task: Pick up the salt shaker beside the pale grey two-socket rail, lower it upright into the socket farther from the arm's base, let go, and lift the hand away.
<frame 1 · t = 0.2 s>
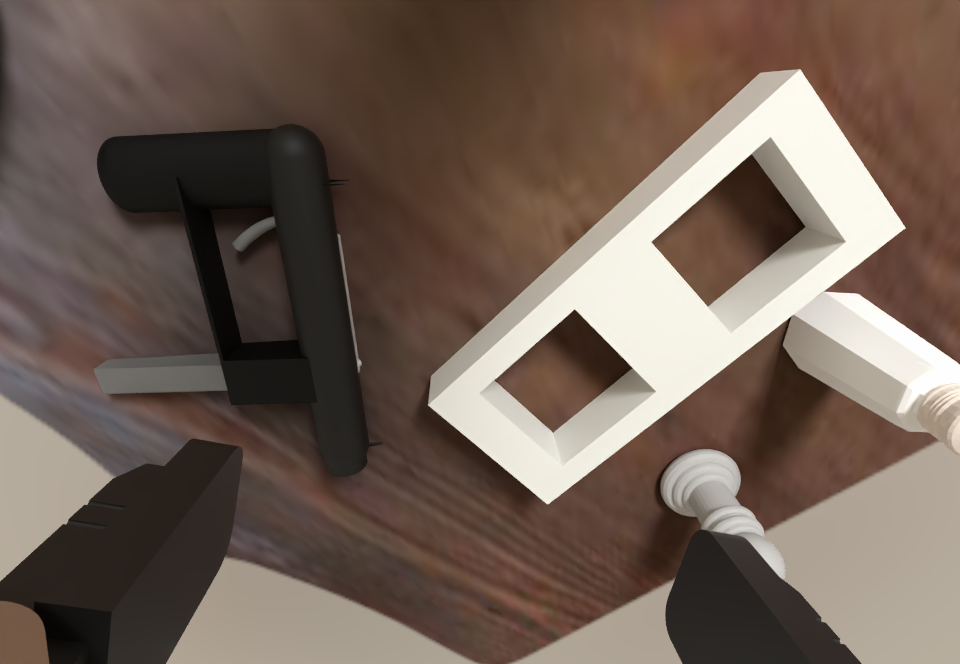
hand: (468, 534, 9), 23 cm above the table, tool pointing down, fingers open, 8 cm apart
salt shaker: (823, 329, 33), on the table
chess piece: (695, 476, 37), on the table
door handle: (236, 309, 32), on the table
socket rail: (634, 299, 32), on the table
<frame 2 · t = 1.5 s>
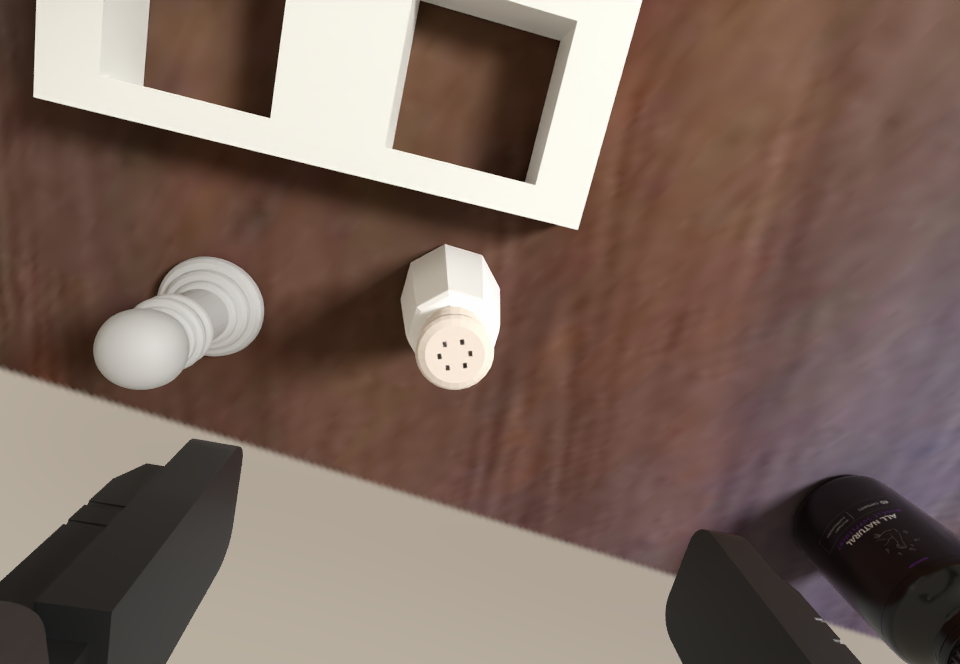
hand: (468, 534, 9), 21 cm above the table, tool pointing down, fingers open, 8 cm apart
supplement bottle: (837, 516, 36), on the table
salt shaker: (450, 292, 30), on the table
chess piece: (217, 304, 29), on the table
socket rail: (354, 64, 26), on the table
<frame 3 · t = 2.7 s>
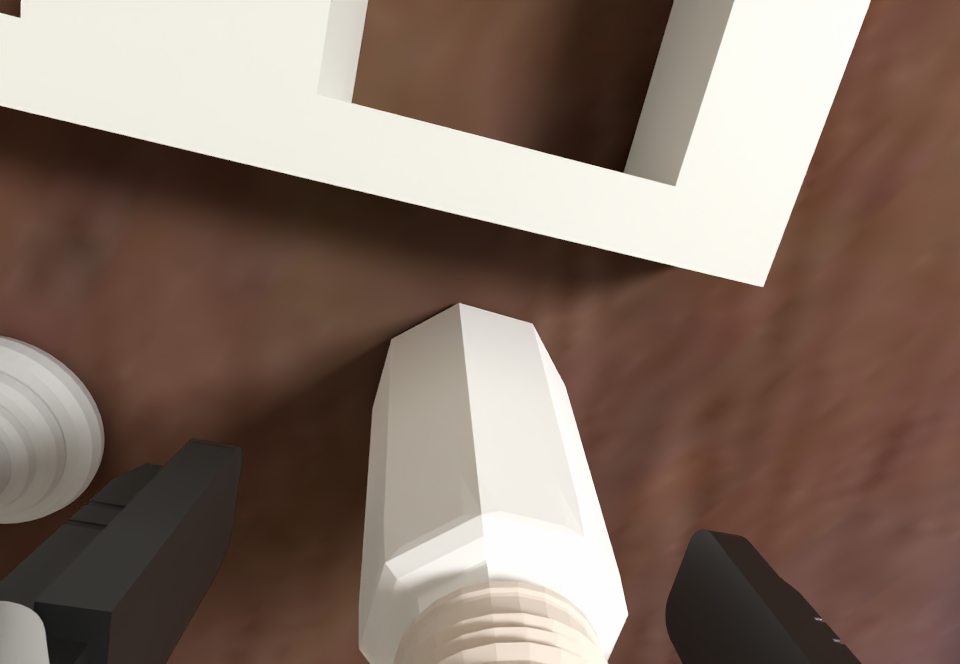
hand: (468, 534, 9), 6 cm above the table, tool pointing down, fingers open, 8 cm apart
salt shaker: (468, 392, 16), on the table
chess piece: (14, 419, 15), on the table
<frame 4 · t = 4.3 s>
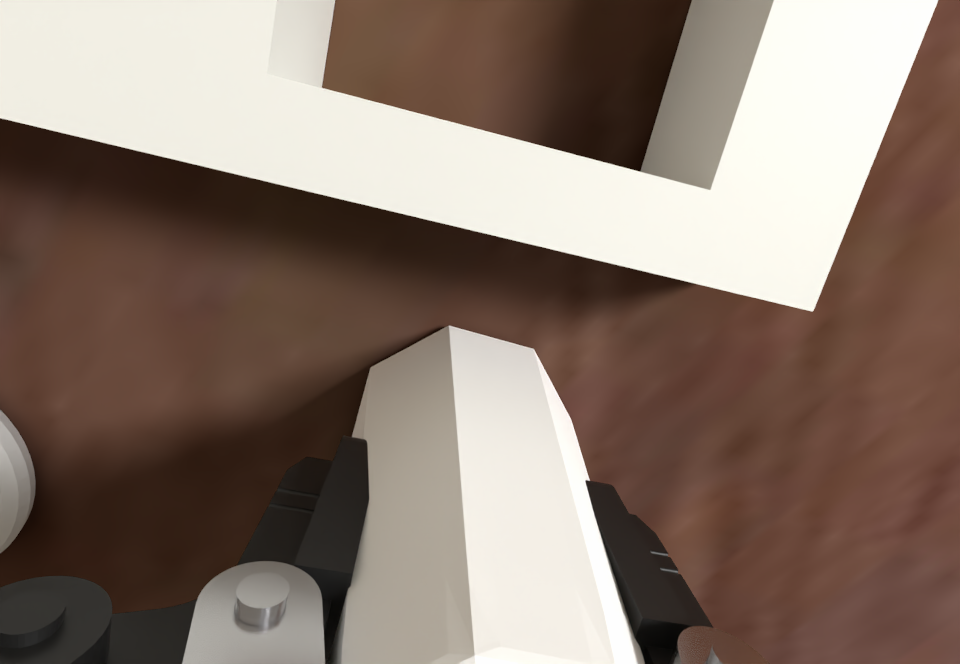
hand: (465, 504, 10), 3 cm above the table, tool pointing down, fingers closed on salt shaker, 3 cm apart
salt shaker: (460, 426, 14), on the table, touching gripper
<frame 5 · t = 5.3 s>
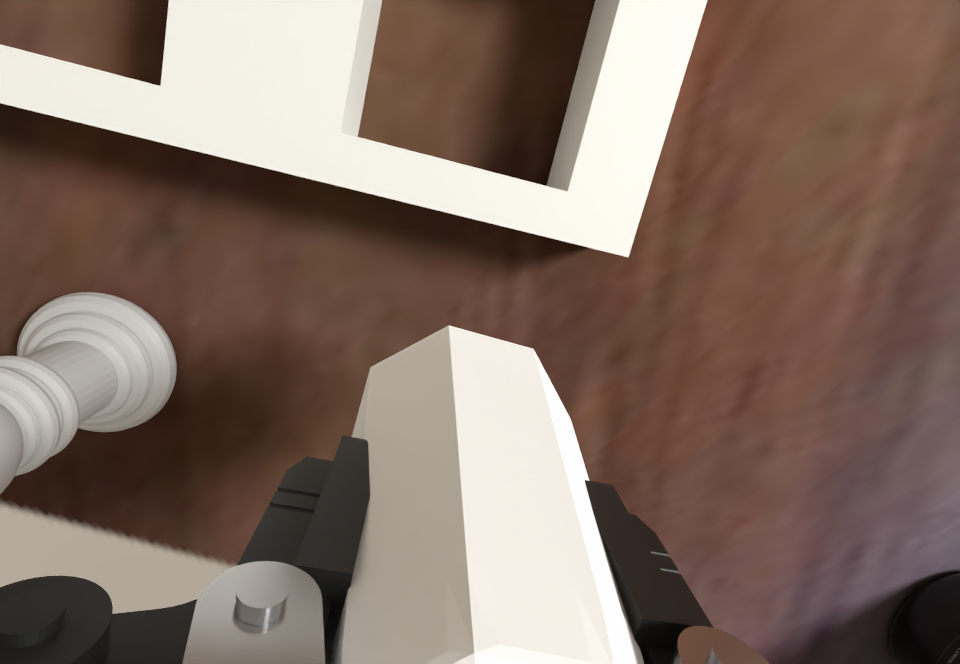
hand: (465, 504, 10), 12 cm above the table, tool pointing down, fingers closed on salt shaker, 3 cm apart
supplement bottle: (942, 621, 28), on the table
salt shaker: (460, 425, 14), point 8 cm above the table, touching gripper
chess piece: (110, 357, 21), on the table
socket rail: (300, 14, 18), on the table
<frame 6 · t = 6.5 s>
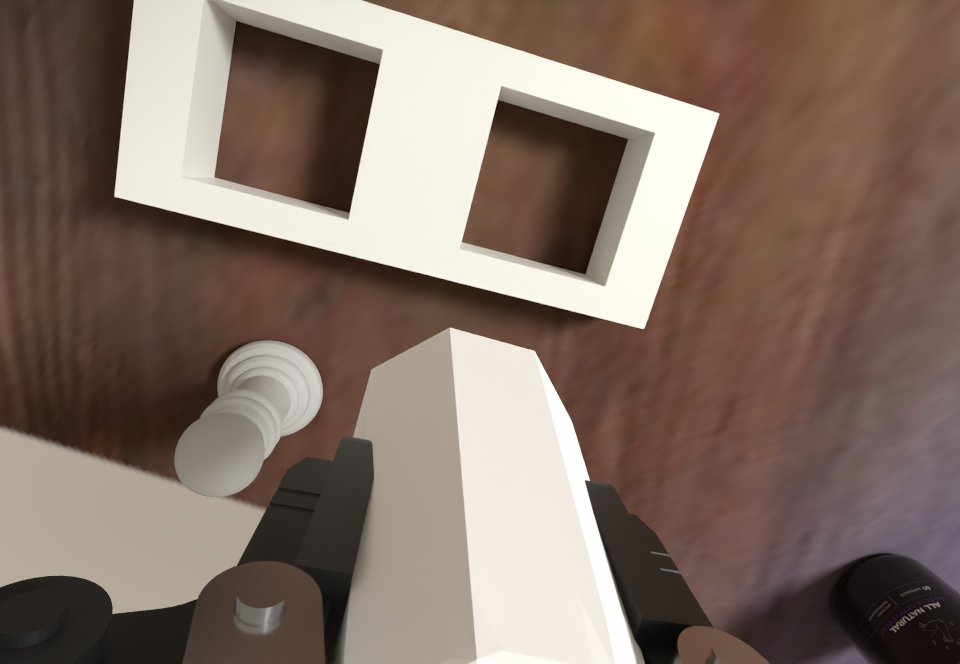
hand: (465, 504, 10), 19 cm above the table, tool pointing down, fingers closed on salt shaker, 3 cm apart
supplement bottle: (873, 592, 36), on the table
salt shaker: (461, 427, 14), point 16 cm above the table, touching gripper
chess piece: (274, 384, 29), on the table
socket rail: (425, 157, 27), on the table
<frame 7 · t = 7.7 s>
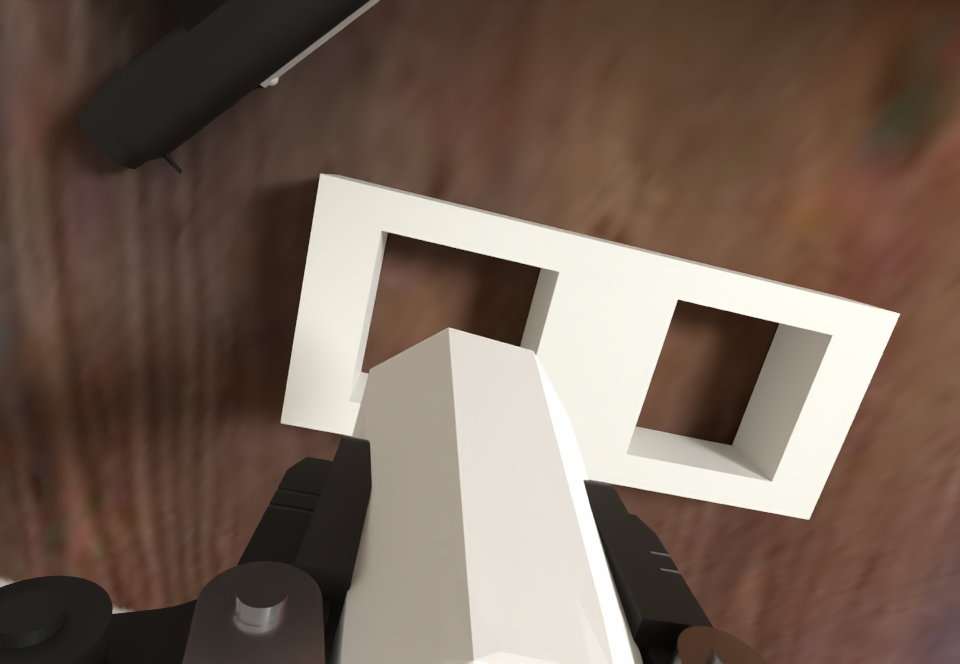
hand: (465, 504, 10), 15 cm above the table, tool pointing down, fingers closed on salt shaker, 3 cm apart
salt shaker: (460, 427, 14), point 12 cm above the table, touching gripper
socket rail: (574, 343, 26), on the table
when the fingers open (5 cm above the table, at t = 9.9 s): salt shaker drops 2 cm, resting in socket rail.
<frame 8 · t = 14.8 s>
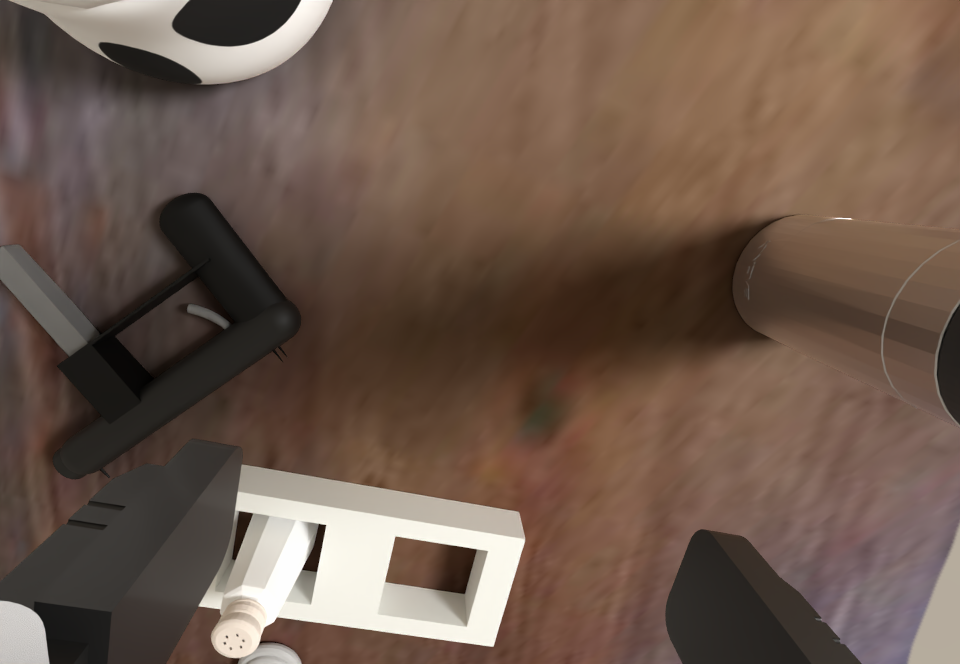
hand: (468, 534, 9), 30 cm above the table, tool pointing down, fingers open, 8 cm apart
salt shaker: (285, 526, 43), resting in socket rail
chess piece: (272, 662, 47), on the table
door handle: (139, 318, 38), on the table
socket rail: (359, 540, 44), on the table
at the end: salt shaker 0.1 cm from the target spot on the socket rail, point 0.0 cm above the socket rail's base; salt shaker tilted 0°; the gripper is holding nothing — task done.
